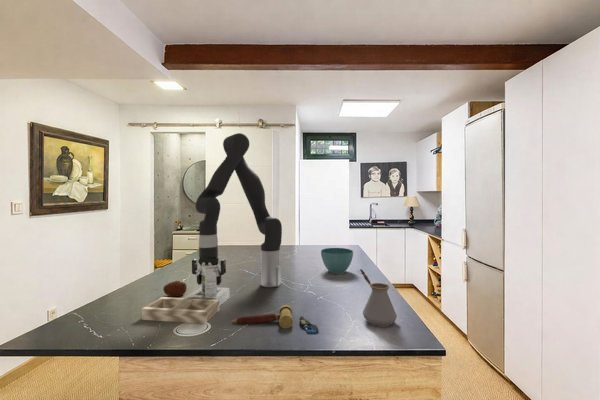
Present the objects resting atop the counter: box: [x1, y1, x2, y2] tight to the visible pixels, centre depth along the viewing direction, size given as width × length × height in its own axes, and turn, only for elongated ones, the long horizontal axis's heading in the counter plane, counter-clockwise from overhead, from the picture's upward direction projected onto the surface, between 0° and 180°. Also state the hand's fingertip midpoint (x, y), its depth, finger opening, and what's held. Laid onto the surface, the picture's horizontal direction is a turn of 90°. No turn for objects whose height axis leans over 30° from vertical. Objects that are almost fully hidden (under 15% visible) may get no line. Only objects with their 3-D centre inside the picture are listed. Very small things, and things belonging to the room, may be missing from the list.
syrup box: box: [201, 264, 218, 296], centre depth 125 cm, size 6×6×14 cm
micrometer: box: [299, 316, 319, 334], centre depth 102 cm, size 12×2×5 cm
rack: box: [140, 296, 220, 325], centre depth 111 cm, size 24×12×4 cm, turn 82°
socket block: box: [185, 286, 231, 307], centre depth 125 cm, size 13×13×4 cm
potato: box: [163, 280, 188, 297], centre depth 132 cm, size 7×9×6 cm
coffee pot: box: [357, 268, 398, 328], centre depth 109 cm, size 21×12×15 cm, turn 14°
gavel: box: [231, 304, 294, 329], centre depth 105 cm, size 21×5×10 cm
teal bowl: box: [320, 247, 354, 275], centre depth 171 cm, size 18×18×12 cm
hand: (209, 284), depth 125 cm, fingers closed on syrup box, 7 cm apart
